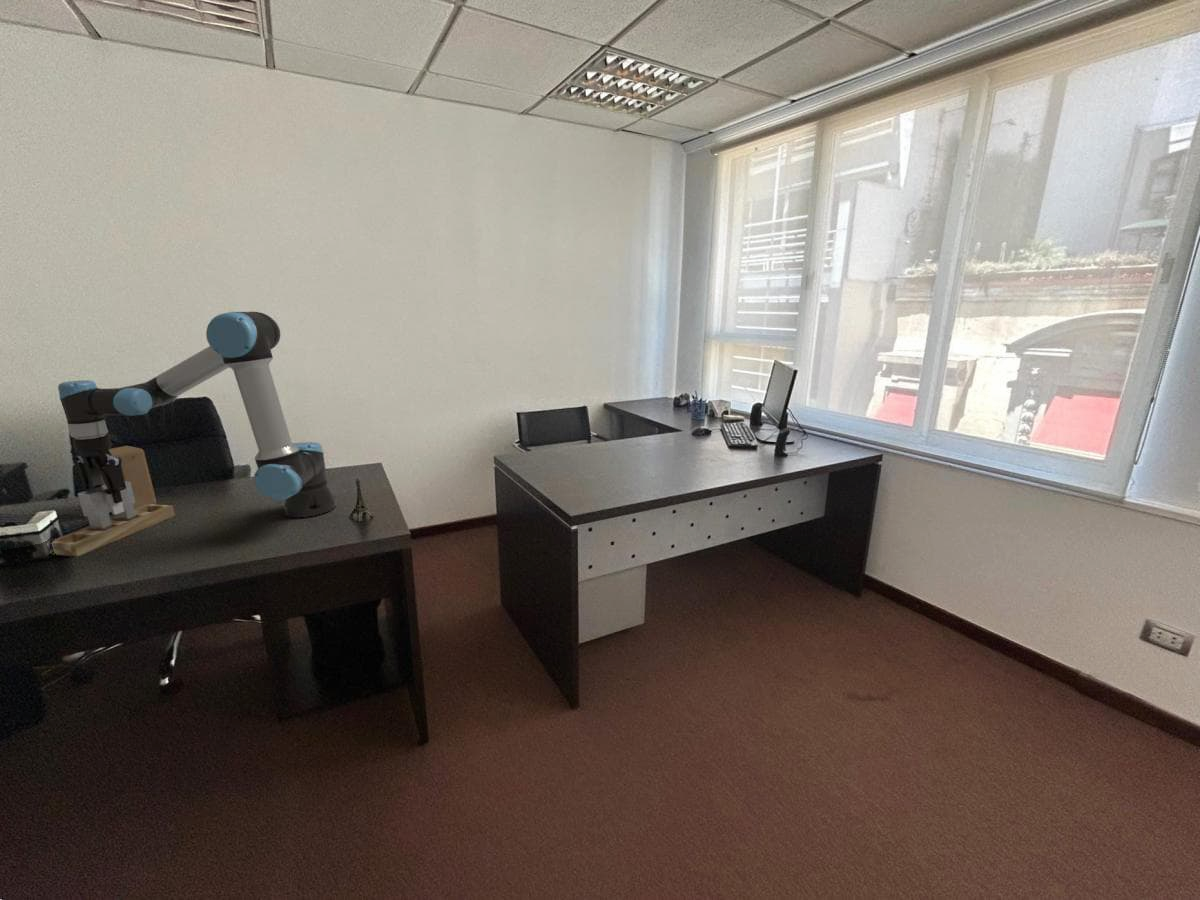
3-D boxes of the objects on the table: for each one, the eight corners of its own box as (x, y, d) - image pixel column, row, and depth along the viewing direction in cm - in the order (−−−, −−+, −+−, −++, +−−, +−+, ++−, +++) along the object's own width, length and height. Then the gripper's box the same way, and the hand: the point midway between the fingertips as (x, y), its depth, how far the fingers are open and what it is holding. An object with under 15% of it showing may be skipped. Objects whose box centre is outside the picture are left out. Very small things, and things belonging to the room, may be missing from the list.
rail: (175, 515, 163) (172, 505, 162) (77, 556, 136) (74, 544, 135) (150, 513, 164) (148, 503, 163) (49, 554, 137) (46, 542, 136)
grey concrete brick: (139, 518, 154) (130, 481, 151) (100, 533, 144) (89, 494, 140) (128, 517, 155) (118, 480, 151) (88, 532, 144) (77, 493, 141)
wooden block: (158, 504, 172) (144, 448, 166) (122, 514, 163) (106, 456, 157) (142, 499, 176) (128, 444, 170) (106, 509, 167) (90, 452, 161)
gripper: (130, 434, 144) (149, 509, 151) (79, 431, 146) (100, 505, 153) (102, 440, 137) (123, 519, 144) (49, 437, 139) (72, 515, 146)
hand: (111, 512), depth 148 cm, fingers closed on grey concrete brick, 4 cm apart
